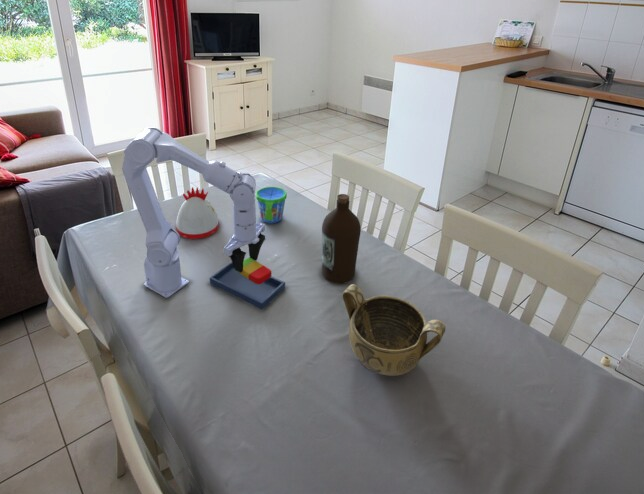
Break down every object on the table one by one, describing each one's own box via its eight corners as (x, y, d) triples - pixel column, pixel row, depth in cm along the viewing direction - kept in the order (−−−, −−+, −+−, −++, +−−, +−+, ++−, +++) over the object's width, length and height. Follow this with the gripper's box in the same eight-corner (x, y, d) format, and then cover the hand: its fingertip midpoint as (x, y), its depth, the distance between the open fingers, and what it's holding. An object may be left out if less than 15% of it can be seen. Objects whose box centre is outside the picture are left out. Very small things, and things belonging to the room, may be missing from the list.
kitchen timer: (214, 239, 139) (211, 198, 133) (171, 238, 139) (167, 197, 133) (221, 217, 152) (219, 179, 146) (182, 216, 152) (179, 178, 146)
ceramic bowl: (446, 358, 96) (457, 305, 90) (418, 415, 83) (429, 357, 78) (358, 315, 108) (362, 266, 102) (321, 359, 95) (324, 306, 89)
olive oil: (345, 259, 130) (350, 185, 120) (363, 280, 121) (371, 201, 111) (313, 267, 126) (316, 191, 116) (330, 289, 117) (334, 209, 107)
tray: (209, 283, 118) (209, 277, 118) (234, 265, 126) (234, 259, 126) (262, 310, 109) (262, 303, 109) (285, 288, 117) (285, 282, 116)
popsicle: (258, 286, 109) (258, 280, 108) (220, 262, 118) (220, 256, 117) (273, 276, 113) (273, 270, 112) (236, 253, 122) (235, 248, 121)
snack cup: (262, 206, 159) (262, 182, 155) (290, 209, 158) (290, 184, 154) (251, 228, 145) (250, 201, 141) (281, 231, 143) (281, 205, 140)
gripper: (238, 238, 102) (240, 284, 107) (274, 213, 113) (274, 256, 119) (216, 229, 106) (219, 274, 111) (253, 206, 117) (254, 248, 122)
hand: (246, 264), depth 115 cm, fingers closed on popsicle, 6 cm apart
